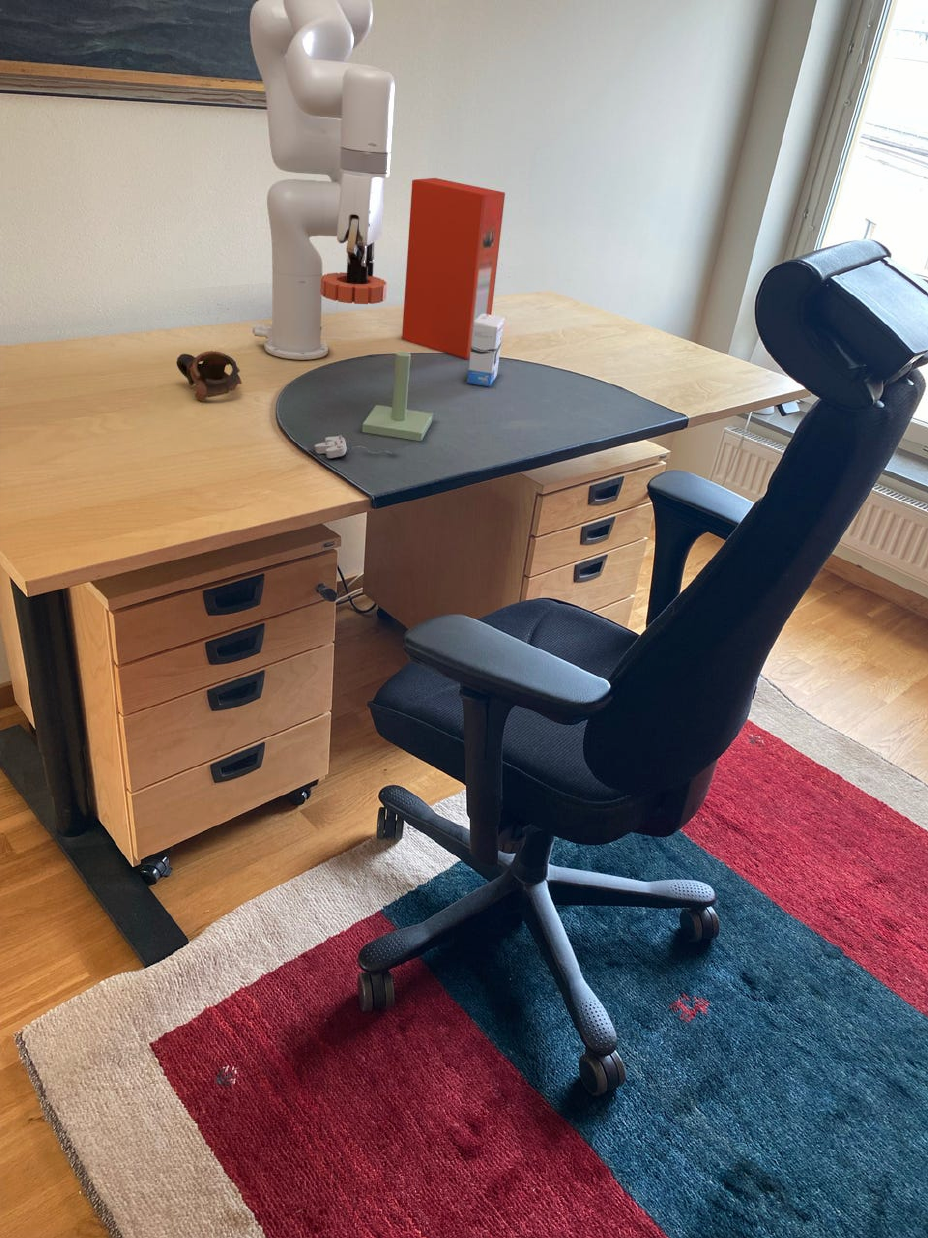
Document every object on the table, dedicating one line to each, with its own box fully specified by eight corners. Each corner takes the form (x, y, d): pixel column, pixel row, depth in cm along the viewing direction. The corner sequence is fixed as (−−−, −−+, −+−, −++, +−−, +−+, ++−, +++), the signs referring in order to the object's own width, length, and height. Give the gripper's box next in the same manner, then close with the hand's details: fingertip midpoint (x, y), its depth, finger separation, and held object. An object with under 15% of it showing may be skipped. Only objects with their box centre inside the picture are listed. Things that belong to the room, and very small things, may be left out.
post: (361, 432, 156) (365, 357, 149) (375, 412, 164) (380, 341, 158) (421, 441, 155) (427, 366, 149) (432, 421, 164) (438, 349, 157)
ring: (312, 297, 144) (313, 281, 143) (331, 284, 153) (332, 269, 151) (376, 307, 143) (377, 291, 142) (391, 293, 152) (392, 278, 151)
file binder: (465, 359, 197) (483, 194, 180) (400, 339, 205) (412, 179, 188) (486, 353, 203) (506, 192, 186) (423, 333, 211) (436, 177, 194)
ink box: (490, 387, 183) (498, 326, 177) (465, 383, 184) (472, 322, 177) (497, 375, 190) (505, 316, 184) (473, 371, 191) (480, 312, 185)
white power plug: (310, 447, 148) (310, 431, 146) (378, 442, 153) (379, 427, 151) (322, 461, 144) (322, 445, 142) (392, 456, 149) (393, 440, 147)
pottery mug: (250, 390, 168) (251, 358, 161) (225, 427, 164) (225, 395, 156) (188, 363, 168) (186, 329, 161) (161, 398, 163) (158, 366, 156)
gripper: (355, 155, 149) (350, 276, 158) (325, 164, 135) (321, 296, 144) (401, 161, 148) (394, 282, 157) (375, 171, 134) (369, 303, 144)
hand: (359, 288), depth 151 cm, fingers closed on ring, 2 cm apart
